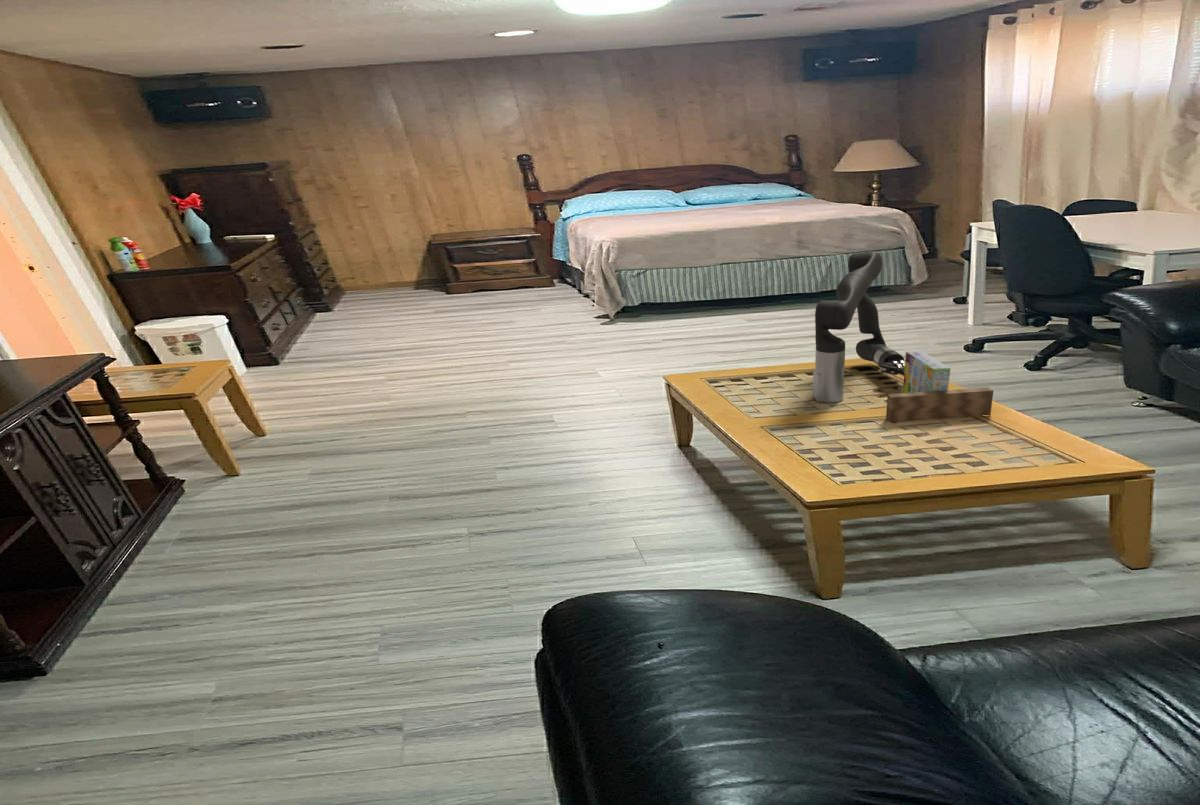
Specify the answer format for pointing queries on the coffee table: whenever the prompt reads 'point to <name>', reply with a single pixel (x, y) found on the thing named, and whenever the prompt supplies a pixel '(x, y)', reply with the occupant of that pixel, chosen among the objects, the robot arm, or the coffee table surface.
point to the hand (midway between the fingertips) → (910, 374)
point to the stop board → (939, 404)
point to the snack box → (924, 373)
